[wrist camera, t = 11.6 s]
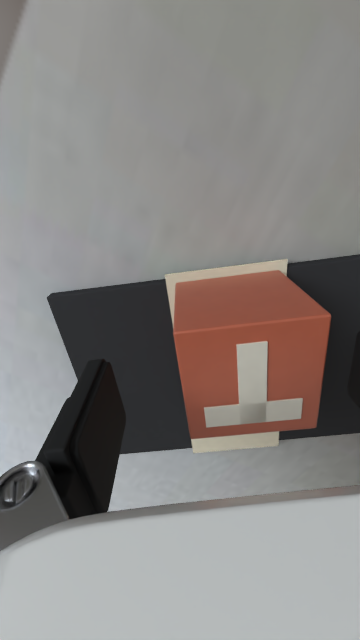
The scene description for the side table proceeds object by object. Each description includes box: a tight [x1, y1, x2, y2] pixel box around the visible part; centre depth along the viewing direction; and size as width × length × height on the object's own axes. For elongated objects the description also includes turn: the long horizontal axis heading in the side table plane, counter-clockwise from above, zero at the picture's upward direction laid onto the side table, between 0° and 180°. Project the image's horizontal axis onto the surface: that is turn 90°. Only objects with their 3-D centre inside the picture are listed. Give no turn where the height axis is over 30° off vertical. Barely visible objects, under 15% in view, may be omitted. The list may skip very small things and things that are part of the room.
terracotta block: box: [173, 270, 331, 439], centre depth 12 cm, size 5×5×5 cm
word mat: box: [47, 255, 360, 454], centre depth 16 cm, size 18×13×1 cm
